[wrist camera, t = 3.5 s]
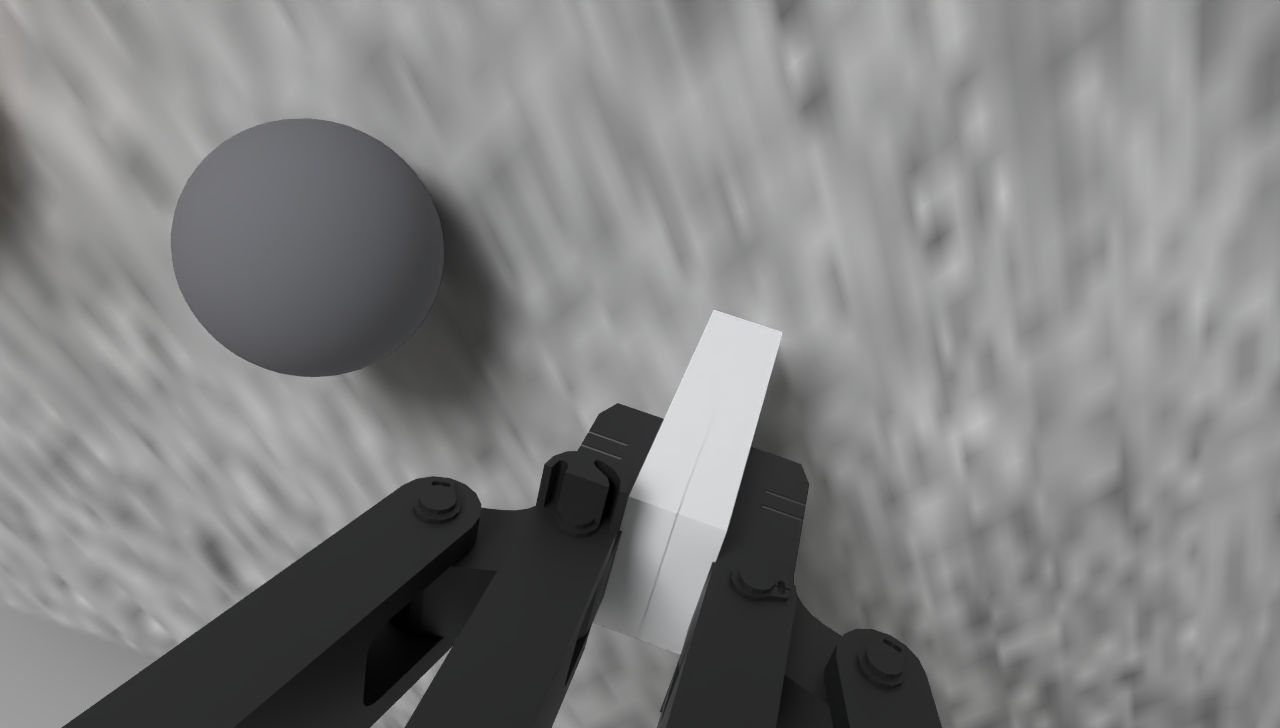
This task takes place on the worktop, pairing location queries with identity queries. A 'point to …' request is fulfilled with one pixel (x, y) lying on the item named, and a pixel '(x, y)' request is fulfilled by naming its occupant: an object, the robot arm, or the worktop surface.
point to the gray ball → (307, 247)
